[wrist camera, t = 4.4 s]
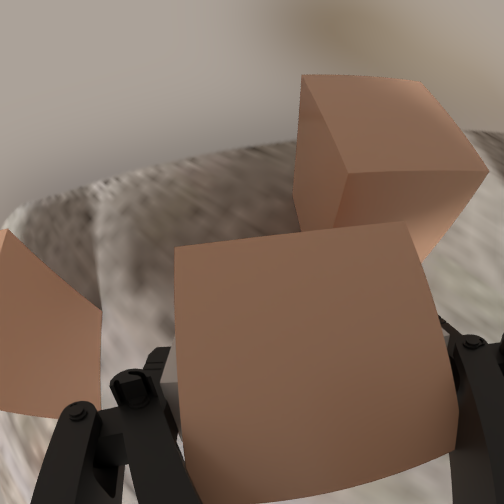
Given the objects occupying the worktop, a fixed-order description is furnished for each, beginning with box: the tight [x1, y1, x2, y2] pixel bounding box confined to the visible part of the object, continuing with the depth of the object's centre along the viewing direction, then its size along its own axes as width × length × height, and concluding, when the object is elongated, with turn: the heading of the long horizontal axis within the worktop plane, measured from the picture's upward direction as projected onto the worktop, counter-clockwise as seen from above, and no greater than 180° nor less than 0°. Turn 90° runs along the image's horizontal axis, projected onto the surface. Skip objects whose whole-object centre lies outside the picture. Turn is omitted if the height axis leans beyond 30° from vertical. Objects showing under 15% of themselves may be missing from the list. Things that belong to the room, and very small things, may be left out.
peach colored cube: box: [292, 75, 489, 263], centre depth 17 cm, size 8×8×10 cm
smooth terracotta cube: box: [174, 221, 459, 504], centre depth 12 cm, size 8×8×10 cm
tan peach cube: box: [0, 229, 102, 419], centre depth 13 cm, size 8×8×10 cm
